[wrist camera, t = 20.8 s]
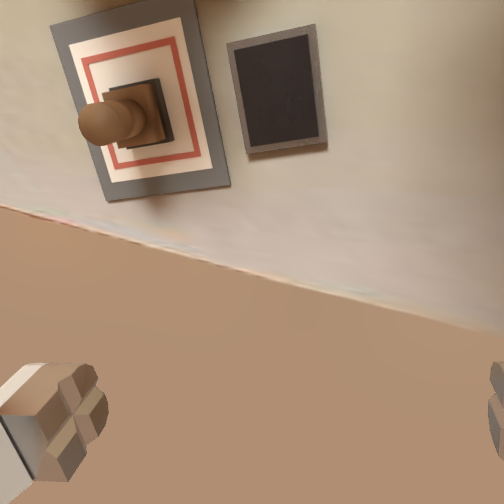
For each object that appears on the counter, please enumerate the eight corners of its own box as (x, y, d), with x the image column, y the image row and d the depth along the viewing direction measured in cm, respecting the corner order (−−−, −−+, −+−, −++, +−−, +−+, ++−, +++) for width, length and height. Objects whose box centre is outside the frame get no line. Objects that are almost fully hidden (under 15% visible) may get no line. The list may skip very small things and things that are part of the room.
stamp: (114, 87, 41) (58, 92, 33) (159, 78, 39) (112, 80, 31) (132, 147, 43) (83, 165, 35) (174, 140, 42) (134, 157, 34)
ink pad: (229, 44, 37) (224, 43, 36) (315, 24, 35) (314, 22, 34) (248, 152, 41) (245, 155, 40) (327, 140, 39) (327, 143, 38)
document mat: (52, 26, 40) (48, 25, 40) (191, -12, 36) (189, -13, 36) (108, 200, 47) (105, 201, 46) (230, 184, 43) (229, 185, 42)
